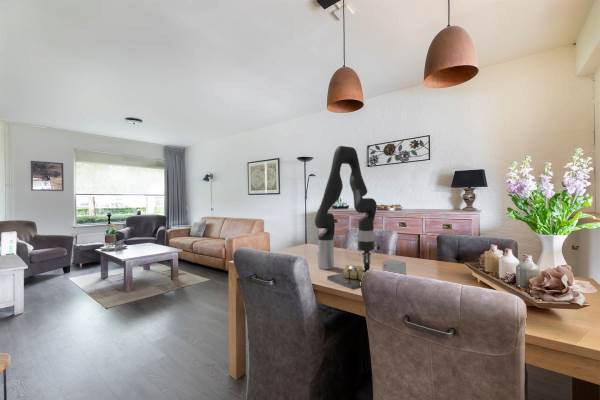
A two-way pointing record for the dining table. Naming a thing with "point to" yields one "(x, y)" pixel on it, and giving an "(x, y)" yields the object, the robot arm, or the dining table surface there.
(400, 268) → the small box
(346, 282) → the nut base plate
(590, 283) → the dining table surface
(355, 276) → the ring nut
